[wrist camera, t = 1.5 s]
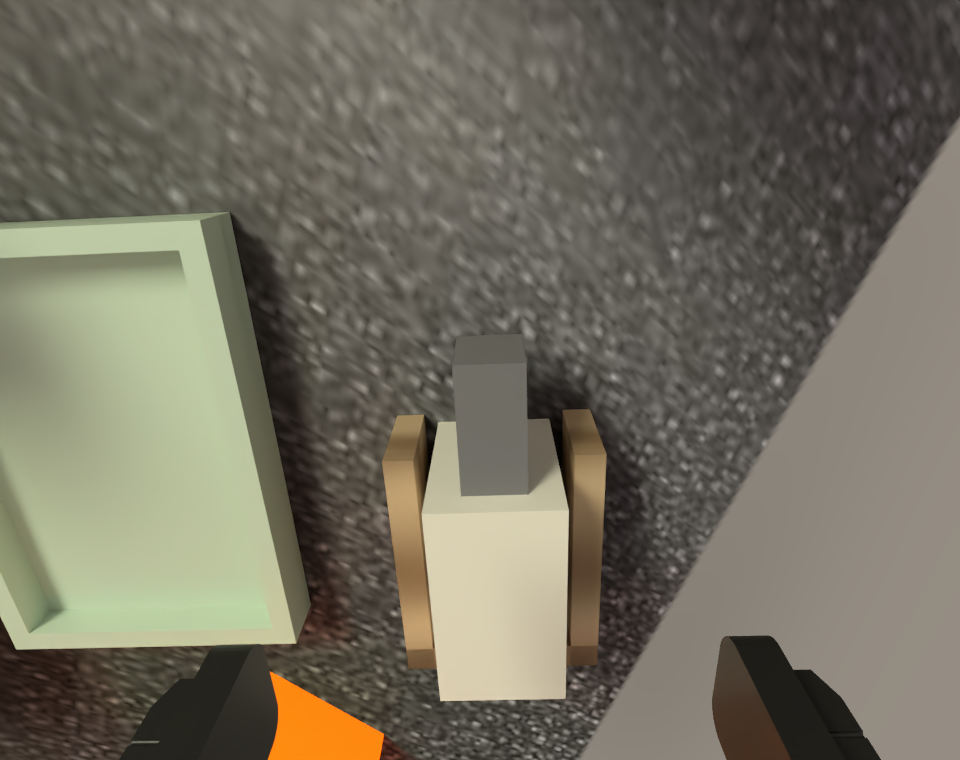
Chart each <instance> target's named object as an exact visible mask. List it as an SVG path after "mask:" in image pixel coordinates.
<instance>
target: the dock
mask: <svg viewBox="0 0 960 760" xmlns="http://www.w3.org/2000/svg"><path fill="white" fill-rule="evenodd" d="M606 456H607V454H606V452H605V449H604V446H603V444H602V441H601V438H600V436H599V433H598V430H597V428H596V425H595V422H594V419H593V417H592V414H591V411H590V409H574V410H563V413H562V481H563V486H564V490H565V495H566V500H567V504H568V509H569V527H568V584H567V640H566V666H581V665H597V653H598V631H599V609H600V587H601V566H602V544H603V522H604V500H605V478H606ZM382 464H383V472H384V480H385V487H386V495H387V503H388V511H389V518H390V526H391V534H392V542H393V549H394V557H395V565H396V573H397V580H398V588H399V596H400V604H401V611H402V619H403V627H404V635H405V643H406V650H407V658H408V666H409V669H431V668H437V662H436V652H435V642H434V632H433V623H432V613H431V603H430V593H429V583H428V573H427V563H426V553H425V544H424V534H423V524H422V509H423V504H424V498H425V493H426V487H427V482H428V477H429V461H428V451H427V440H426V429H425V418H424V415H400V416H397V419H396V422H395V425H394V428H393V431H392V434H391V437H390V440H389V443H388V446H387V449H386V452H385V455H384V458H383V461H382Z"/></svg>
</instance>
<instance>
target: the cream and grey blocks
mask: <svg viewBox="0 0 960 760" xmlns="http://www.w3.org/2000/svg"><path fill="white" fill-rule="evenodd" d="M452 373H453V387H454V402H455V417H456V422H438V428H437V433H436V438H435V444H434V449H433V455H432V460H431V466H430V471H429V477H428V482H427V487H426V493H425V498H424V504H423V509H422V524H423V534H424V544H425V553H426V563H427V573H428V583H429V593H430V603H431V613H432V623H433V632H434V642H435V652H436V662H437V672H438V682H439V692H440V701H465V700H523V699H565V697H566V640H567V584H568V527H569V509H568V504H567V500H566V495H565V490H564V486H563V481H562V476H561V472H560V467H559V462H558V458H557V453H556V448H555V444H554V439H553V434H552V430H551V425H550V420H549V419H527V363H526V357H525V351H524V345H523V339H522V334H509V335H482V336H457V339H456V345H455V351H454V357H453V363H452Z"/></svg>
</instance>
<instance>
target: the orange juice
mask: <svg viewBox="0 0 960 760" xmlns="http://www.w3.org/2000/svg"><path fill="white" fill-rule="evenodd" d="M270 674H271V678H272V682H273V686H274V690H275V694H276V698H277V703H278V725H277V732H276V736H275V740H274V743H273V747H272V749H271V752H270V755H269V758H268V760H379V759H380V754H381V748H382V743H383V737H384V734H383V733H381V732H379V731H377V730H375V729H373V728H372V727H370V726H368V725H366V724H364V723H363V722H361V721H359V720H357V719H355V718H354V717H352V716H350V715H348V714H346V713H344V712H343V711H341V710H339V709H337V708H335V707H334V706H332V705H330V704H328V703H326V702H325V701H323V700H321V699H319V698H317V697H316V696H314V695H312V694H310V693H308V692H306V691H305V690H303V689H301V688H299V687H297V686H296V685H294V684H292V683H290V682H288V681H287V680H285V679H283V678H281V677H279V676H277V675H276V674H274V673H272V672H270Z"/></svg>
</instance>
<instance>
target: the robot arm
mask: <svg viewBox="0 0 960 760" xmlns="http://www.w3.org/2000/svg"><path fill="white" fill-rule="evenodd" d="M712 709H713V718H714V723H715V728H716V732H717V735H718V738H719V741H720V744H721V746H722V749H723V751H724V754H725V757H726V759H727V760H881V759H880V758H879V756H878V754H877V753H876V751H875V750H874V748H873V746H872V745H871V743H870V742H869V740H868V739H867V738H865V737H864V736H863V731H862V729H861V728H860V726H859V725H858V723H857V721H856V720H855V718H854V717H853V715H852V713H851V712H850V710H849V709H848V707H847V706H846V704H845V702H844V701H843V700H842V698H841V697H840V696H839V695H838V694H837V693H836V692H835V691H833V690H832V689H831V688H830V687H829V686H828V685H827V684H826V683H825V682H824V681H822V680H821V679H820V678H819V677H818V676H817V675H816V674H815V673H814V672H813V671H811V670H793V669H792V667H791V665H790V664H789V662H788V660H787V658H786V657H785V655H784V653H783V651H782V650H781V648H780V646H779V645H778V643H777V642H776V641H775V639H774V638H772V637H771V636H726V637H724V638H723V639H722V641H721V645H720V652H719V658H718V665H717V672H716V677H715V684H714V690H713V698H712ZM277 725H278V703H277V698H276V694H275V690H274V686H273V682H272V678H271V674H270V670H269V666H268V662H267V658H266V654H265V651H264V648H263V646H262V645H260V644H230V645H216V646H214V647H213V648H212V649H211V650H210V652H209V653H208V655H207V657H206V658H205V660H204V662H203V664H202V666H201V667H200V669H199V671H198V673H197V675H196V676H195V678H194V679H179V680H178V681H177V682H176V683H175V684H174V685H173V686H172V687H171V688H170V689H169V690H168V691H167V692H166V693H165V694H164V695H163V696H162V697H161V698H160V699H159V700H158V701H157V702H156V703H155V704H154V705H153V706H152V707H151V708H150V710H149V712H148V713H147V715H146V717H145V718H144V720H143V722H142V723H141V725H140V727H139V728H138V730H137V731H136V733H135V735H134V736H133V738H132V743H131V745H130V746H127V748H126V750H125V751H124V753H123V755H122V756H121V758H120V760H268V758H269V755H270V752H271V749H272V747H273V743H274V740H275V736H276V732H277Z"/></svg>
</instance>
